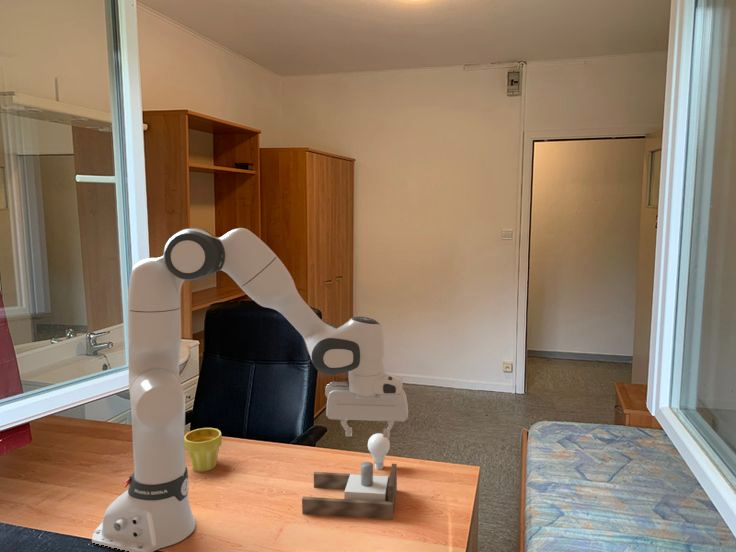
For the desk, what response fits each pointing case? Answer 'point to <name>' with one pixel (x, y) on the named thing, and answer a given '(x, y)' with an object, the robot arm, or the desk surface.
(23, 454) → the desk surface
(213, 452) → the plant pot
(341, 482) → the bay
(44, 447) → the desk surface
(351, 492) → the white box with knob
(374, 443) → the lightbulb
